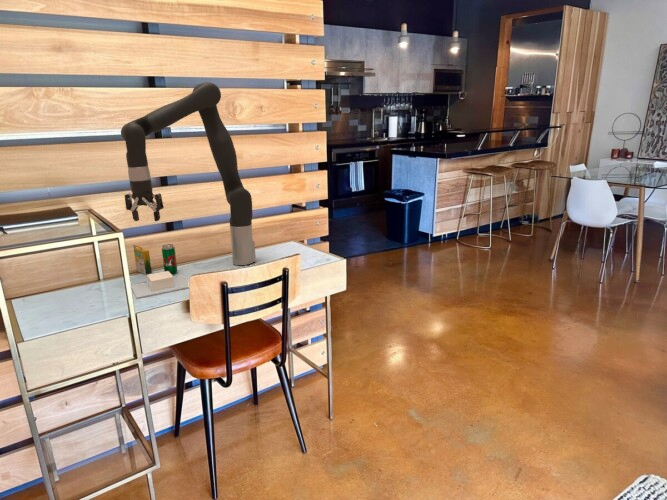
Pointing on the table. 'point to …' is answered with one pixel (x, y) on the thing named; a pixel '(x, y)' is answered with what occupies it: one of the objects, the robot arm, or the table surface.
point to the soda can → (169, 258)
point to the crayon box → (142, 260)
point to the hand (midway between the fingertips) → (146, 220)
